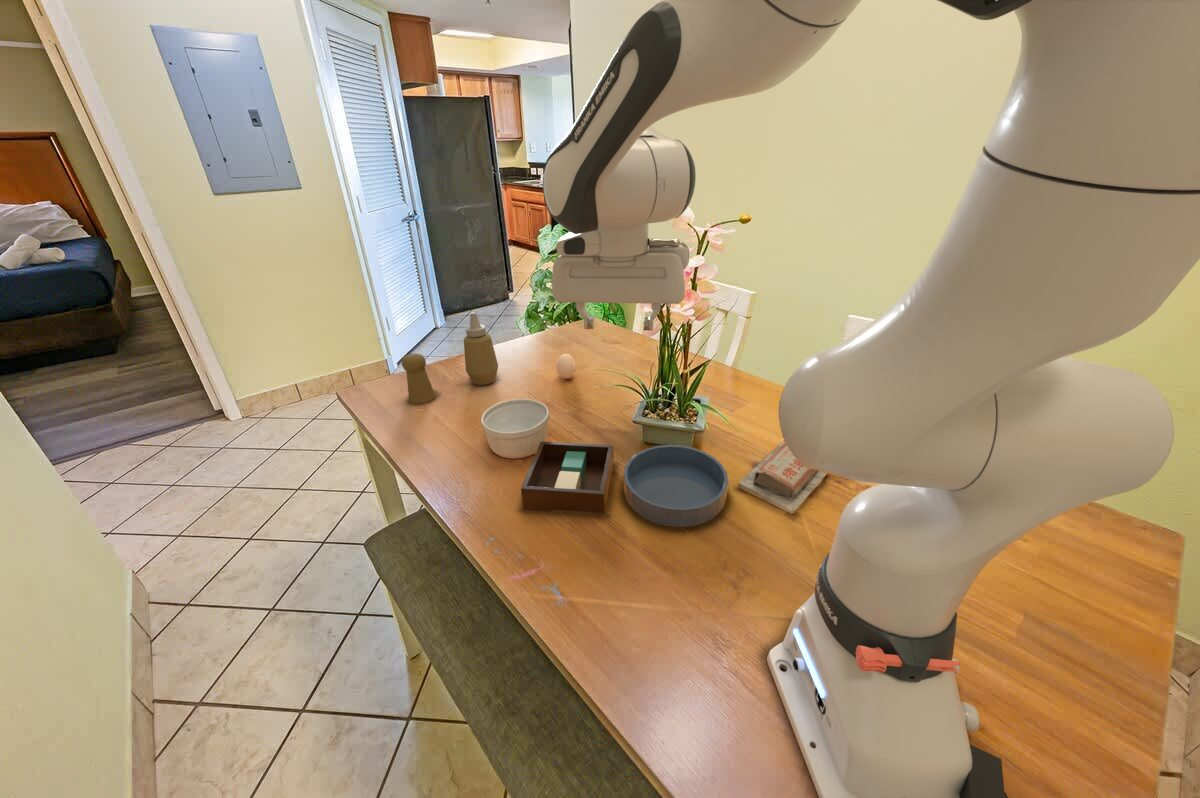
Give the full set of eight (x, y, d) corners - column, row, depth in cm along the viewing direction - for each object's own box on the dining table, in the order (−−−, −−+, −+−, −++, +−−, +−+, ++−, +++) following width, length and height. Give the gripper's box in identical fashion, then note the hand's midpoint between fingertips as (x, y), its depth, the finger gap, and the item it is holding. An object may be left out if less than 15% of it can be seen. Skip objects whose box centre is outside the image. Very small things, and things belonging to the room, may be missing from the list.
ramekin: (474, 442, 97) (468, 413, 93) (528, 419, 104) (524, 391, 101) (508, 472, 88) (503, 441, 84) (564, 444, 95) (562, 414, 92)
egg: (572, 372, 124) (570, 348, 121) (579, 379, 120) (577, 355, 117) (554, 376, 122) (552, 352, 119) (561, 383, 118) (559, 359, 115)
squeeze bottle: (496, 387, 118) (486, 318, 109) (464, 388, 118) (451, 319, 109) (502, 373, 125) (493, 307, 116) (472, 373, 125) (460, 307, 116)
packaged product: (787, 424, 90) (841, 444, 84) (783, 445, 93) (836, 466, 87) (739, 467, 79) (798, 493, 73) (736, 489, 82) (792, 517, 75)
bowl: (730, 532, 73) (733, 513, 71) (619, 524, 75) (619, 505, 73) (720, 465, 88) (722, 447, 86) (628, 459, 90) (628, 442, 88)
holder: (604, 515, 77) (604, 494, 75) (523, 509, 79) (520, 488, 77) (613, 464, 89) (613, 445, 87) (542, 460, 91) (540, 441, 88)
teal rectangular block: (582, 481, 84) (581, 467, 83) (562, 480, 84) (561, 466, 83) (586, 465, 88) (586, 451, 87) (567, 463, 89) (566, 450, 87)
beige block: (576, 504, 79) (575, 490, 77) (555, 502, 79) (553, 488, 78) (581, 485, 83) (580, 471, 82) (560, 484, 83) (559, 470, 82)
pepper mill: (411, 406, 111) (400, 363, 105) (407, 395, 115) (396, 354, 110) (437, 399, 113) (428, 357, 108) (432, 389, 118) (423, 348, 112)
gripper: (689, 234, 70) (684, 323, 77) (554, 235, 73) (561, 320, 80) (691, 242, 65) (685, 337, 72) (545, 243, 68) (552, 334, 74)
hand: (618, 328), depth 76 cm, fingers open, 8 cm apart
